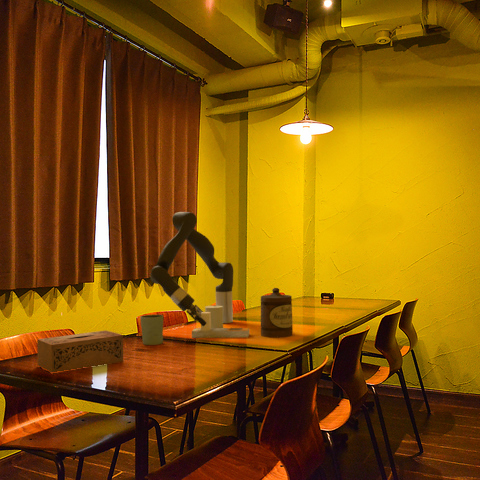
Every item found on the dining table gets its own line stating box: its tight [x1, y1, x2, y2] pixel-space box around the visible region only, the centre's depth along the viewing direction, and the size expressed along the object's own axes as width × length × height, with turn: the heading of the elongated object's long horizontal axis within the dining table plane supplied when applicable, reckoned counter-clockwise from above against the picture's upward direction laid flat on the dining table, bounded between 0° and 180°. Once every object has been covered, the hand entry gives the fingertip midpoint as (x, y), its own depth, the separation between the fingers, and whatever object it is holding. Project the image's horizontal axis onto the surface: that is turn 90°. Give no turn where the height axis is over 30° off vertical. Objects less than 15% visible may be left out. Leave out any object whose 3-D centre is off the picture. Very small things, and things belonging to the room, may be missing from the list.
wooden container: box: [260, 287, 294, 339], centre depth 225 cm, size 15×15×22 cm
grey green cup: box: [139, 313, 164, 346], centre depth 210 cm, size 10×10×12 cm
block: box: [200, 311, 211, 331], centre depth 225 cm, size 4×4×11 cm
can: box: [204, 304, 224, 328], centre depth 243 cm, size 9×9×12 cm
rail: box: [191, 327, 250, 339], centre depth 224 cm, size 8×26×3 cm, turn 84°
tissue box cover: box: [36, 330, 124, 372], centre depth 172 cm, size 26×14×10 cm, turn 130°
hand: (206, 323), depth 225 cm, fingers open, 8 cm apart
